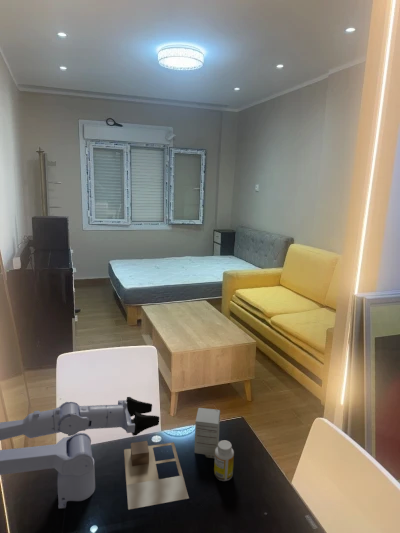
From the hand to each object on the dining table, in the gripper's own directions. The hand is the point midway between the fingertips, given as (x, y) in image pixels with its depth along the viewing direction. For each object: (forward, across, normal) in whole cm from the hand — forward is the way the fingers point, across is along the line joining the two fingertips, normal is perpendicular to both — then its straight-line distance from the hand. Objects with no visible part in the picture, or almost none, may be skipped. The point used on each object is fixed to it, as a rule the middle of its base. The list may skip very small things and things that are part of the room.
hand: (155, 414), depth 101 cm
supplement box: (+21, +7, +16) cm, 28 cm away
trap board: (+3, +2, +20) cm, 20 cm away
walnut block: (0, +8, +18) cm, 20 cm away
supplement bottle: (+22, -4, +18) cm, 29 cm away
